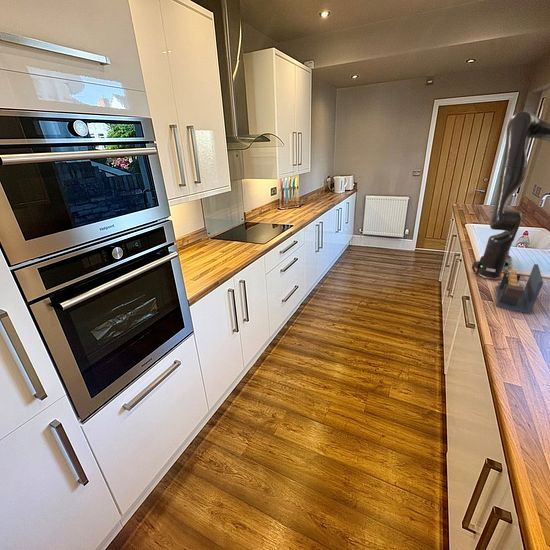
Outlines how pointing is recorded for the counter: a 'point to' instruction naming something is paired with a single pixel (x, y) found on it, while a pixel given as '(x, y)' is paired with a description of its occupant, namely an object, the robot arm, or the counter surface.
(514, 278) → the brush
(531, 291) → the rack
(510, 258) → the knee model
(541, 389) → the counter surface
